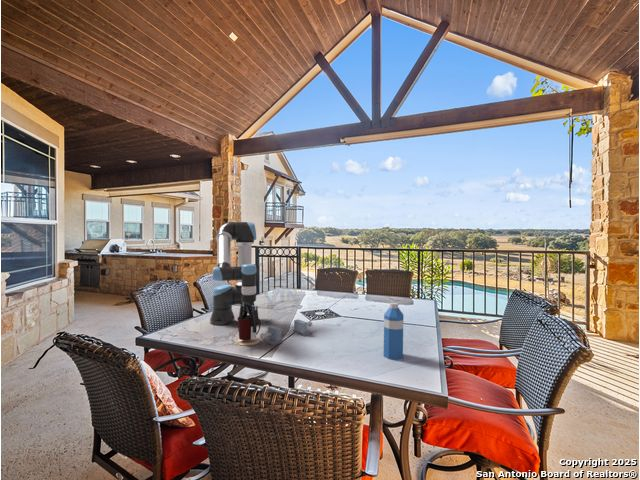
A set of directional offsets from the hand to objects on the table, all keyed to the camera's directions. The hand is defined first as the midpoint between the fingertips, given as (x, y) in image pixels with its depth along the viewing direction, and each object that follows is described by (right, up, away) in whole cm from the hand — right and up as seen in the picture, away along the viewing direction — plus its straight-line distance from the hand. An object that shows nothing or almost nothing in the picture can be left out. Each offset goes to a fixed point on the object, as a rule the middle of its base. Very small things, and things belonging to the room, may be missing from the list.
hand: (248, 335), depth 158 cm
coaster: (0, -3, 0) cm, 3 cm away
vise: (+20, -3, +8) cm, 22 cm away
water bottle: (+72, -4, -17) cm, 74 cm away
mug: (+1, -1, 0) cm, 1 cm away
